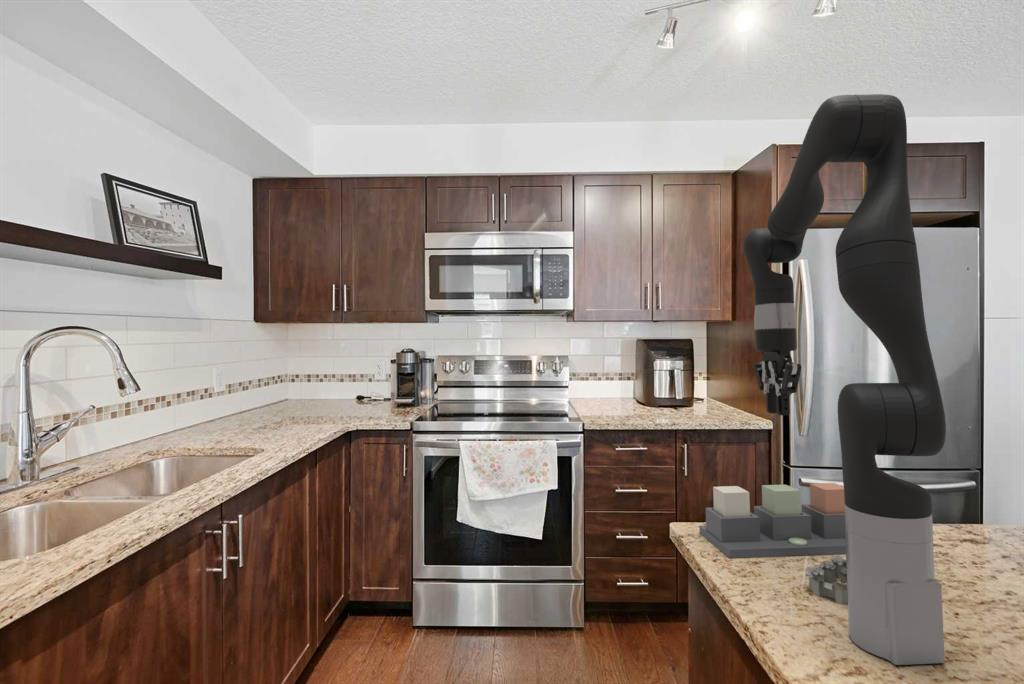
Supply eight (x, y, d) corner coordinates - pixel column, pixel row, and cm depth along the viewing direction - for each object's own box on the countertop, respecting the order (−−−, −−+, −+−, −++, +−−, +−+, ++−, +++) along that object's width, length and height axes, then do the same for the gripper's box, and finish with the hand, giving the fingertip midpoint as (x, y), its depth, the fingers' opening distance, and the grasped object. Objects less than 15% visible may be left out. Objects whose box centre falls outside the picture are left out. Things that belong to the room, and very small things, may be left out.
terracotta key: (851, 520, 104) (850, 489, 104) (826, 521, 104) (825, 489, 104) (835, 512, 109) (834, 483, 109) (811, 513, 109) (809, 483, 109)
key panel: (878, 552, 99) (877, 520, 99) (729, 558, 98) (728, 525, 98) (830, 528, 113) (829, 499, 113) (699, 532, 112) (698, 503, 112)
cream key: (750, 523, 103) (749, 492, 104) (724, 524, 103) (723, 493, 103) (738, 515, 108) (737, 485, 109) (714, 516, 108) (713, 486, 108)
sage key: (801, 521, 104) (800, 490, 104) (775, 522, 104) (774, 491, 104) (786, 514, 109) (785, 484, 109) (762, 515, 109) (761, 485, 109)
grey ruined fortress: (849, 610, 78) (848, 582, 78) (800, 591, 85) (799, 565, 85) (887, 592, 84) (886, 566, 84) (838, 575, 90) (837, 551, 90)
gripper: (814, 325, 100) (817, 417, 100) (774, 328, 114) (777, 410, 114) (775, 325, 100) (778, 418, 100) (740, 329, 114) (742, 411, 114)
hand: (777, 413), depth 107 cm, fingers open, 3 cm apart
